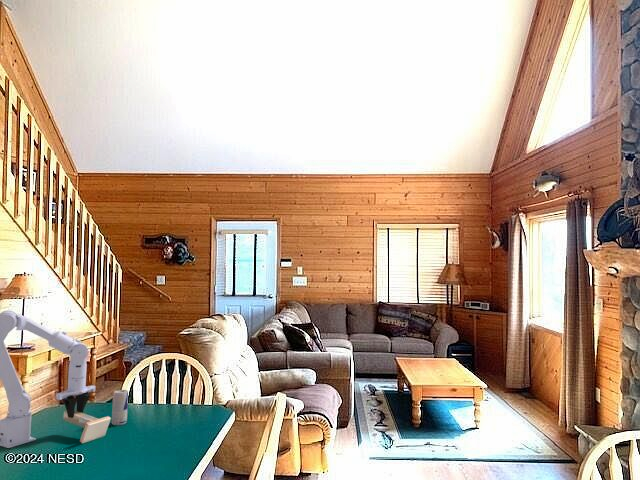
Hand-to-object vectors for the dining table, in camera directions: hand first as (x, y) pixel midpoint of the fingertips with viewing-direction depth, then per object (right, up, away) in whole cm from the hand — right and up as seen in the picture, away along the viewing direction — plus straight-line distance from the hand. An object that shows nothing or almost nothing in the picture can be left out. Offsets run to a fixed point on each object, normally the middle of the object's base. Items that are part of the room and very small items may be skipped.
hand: (75, 416), depth 175 cm
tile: (+8, -6, -4) cm, 11 cm away
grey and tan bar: (+2, -2, -1) cm, 3 cm away
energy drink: (+10, -8, +13) cm, 19 cm away
